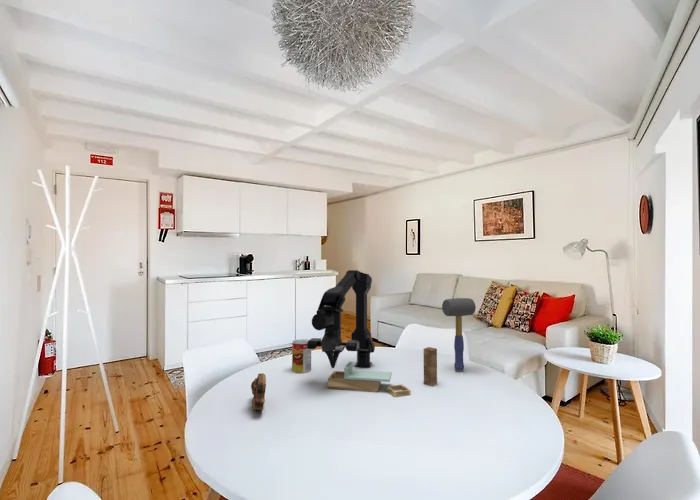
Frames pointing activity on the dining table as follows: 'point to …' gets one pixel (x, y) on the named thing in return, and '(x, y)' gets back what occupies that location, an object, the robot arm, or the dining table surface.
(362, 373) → the lid
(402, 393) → the frame
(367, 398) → the dining table surface
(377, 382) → the wooden tray
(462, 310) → the rubber mallet
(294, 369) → the canned food
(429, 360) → the brown block
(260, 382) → the wooden carving
